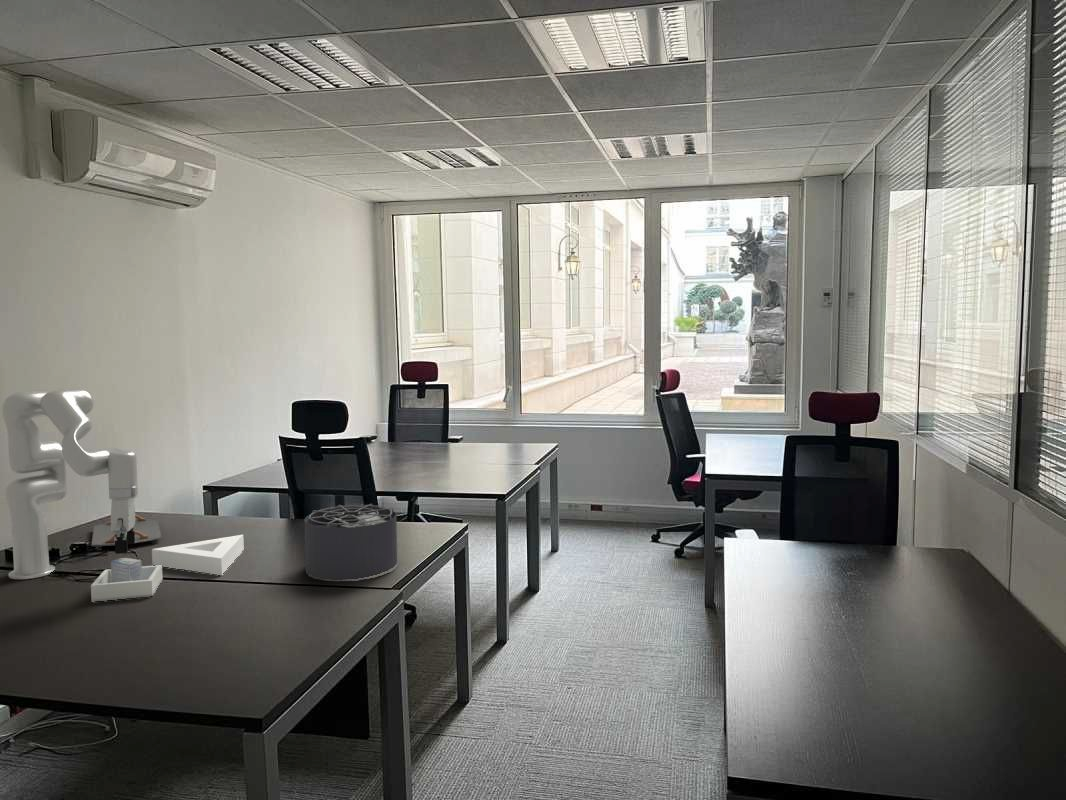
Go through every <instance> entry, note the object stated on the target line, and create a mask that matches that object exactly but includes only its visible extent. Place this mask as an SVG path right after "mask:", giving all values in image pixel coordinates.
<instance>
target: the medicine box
mask: <svg viewBox="0 0 1066 800" xmlns="http://www.w3.org/2000/svg"><path fill="white" fill-rule="evenodd" d="M142 567H143V565H142V560H141V559H135V558H130V557H120V558H117V559H114V560H111V561H110V569H111V573H112V583H114V582H126V581H138V580H143V579H142Z"/></svg>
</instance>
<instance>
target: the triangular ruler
mask: <svg viewBox="0 0 1066 800" xmlns="http://www.w3.org/2000/svg"><path fill="white" fill-rule="evenodd" d="M244 543H245V542H244V534H237V535H232V536H227V537H219V538H215V539H207V540H201V541H195V542H188V543H187V542H186V543H183V544H182V543H181V544H175V545H169V546H163V547H157V548H152V549H151V558H152V559H151V562H152V565H151V566H153V565H162V566H163V567H169V568H168V569H170V568H176V569H175V570H177V569H185V570H192V571H198V572H205V573H210V574H209V575H212V574H217V575H216V576H218V575H222V576H223V575H224V574H225V573H226V572H227V571H228V569H229V568H230V567H231V566H232V565H233V564H234V563H235V561H236V560H237V559H238V558H239V557H240V555H241V554H242V553H243V552H244V551H245V547H244V545H245V544H244ZM243 550H244V551H243ZM242 551H243V552H242ZM238 556H239V557H238ZM237 557H238V558H237ZM236 558H237V559H236ZM235 559H236V560H235ZM234 560H235V561H234ZM232 563H233V564H232ZM231 564H232V565H231ZM230 565H231V566H230ZM229 566H230V567H229ZM163 567H162V568H163ZM228 567H229V568H228ZM227 568H228V569H227ZM226 570H227V571H226ZM225 571H226V572H225ZM198 572H197V573H198ZM224 572H225V573H224ZM205 573H204V574H205ZM223 573H224V574H223Z"/></svg>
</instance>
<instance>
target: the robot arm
mask: <svg viewBox="0 0 1066 800" xmlns="http://www.w3.org/2000/svg"><path fill="white" fill-rule="evenodd" d="M93 408H94V399H93V397H92V396H91V394H90V392H88V391H86V390H85V389H83V388H67V389H61V388H60V389H46V390H45V389H43V390H26V391H20V392H14V393H12V394H9V395H8V396H7V397H5V399H4V400H3V403H2V406H1V413H2V418H3V421H4V423H5V427H6V430H7V445H8V447H7V448H8V460H9V462H8V463H9V466H10V469H11V471H12V472H14V473H15V474H30V473H37V472H42V471H43V474H37V475H31V476H26V477H21V478H16V479H14V480H12V481H11V482H10V483H8V484H7V485H6V488H5V491H4V496H5V499H6V503H7V507H8V510H9V516H10V528H11V540H12V541H11V542H12V554H13V555H12V556H13V557H12V558H13V570H11V571H10V572H8V578H9V579H12V580H29V579H36V578H41V577H44V576H45V577H46V576H48V575H51V574H52V573H51V572H53V571H54V570H55V571H56V567H55V566H54V565H53V564H50V556H49V543H48V542H49V541H48V524H47V517H46V515H45V514H44V512H43V511H42V510H41V509H40V507H39V506H41V505H44V504H48V503H54V502H57V501H60V500H62V499H64V498H65V497H66V495H67V493H68V469H67V465H68V466H69V467H70V468H71V469H72V471H73V472H74V473H76V474H77V475H79V476H81V477H85V478H88V477H94V476H100V475H105V474H108V475H107V477H108V497H109V498H108V499H109V500H111V506H110V507H111V508H110V521H111V532H112V533H114V532H116V534H115V545H114V552H115V553H114V554H116V555H119V554H121V555H122V554H127V553H128V547H129V546H128V545H135V544H136V543H135V531H134V525H135V520H136V518H135V514H136V506H135V505H136V504H135V502H136V501H135V498H137V497H139V496H138V493H139V491H138V465H137V463H138V460H137V454H136V452H135V451H131V450H122V449H120V448H118V447H107V448H100V449H94V450H86V451H85V450H84V449H83V448H82V447H81V446H80V444H79V443H78V441H79V440H81V439H83V438H84V437H85V436H86V435H89V433H90V431H91V430H92V428H93V422H92V420H91V419H90V418H89V416H88V414H89V413H90V412H92V410H93ZM46 417H48V419H49V420H50V421H51V423H52V424H53V425H54V426H55V428H57V430H58V431H59V432H60V433H61V434H62V435H63V438H62V440H61V443H59V442H58V441H55V440H43V441H41V437H40V436H41V435H40V433H41V432H40V428H39V427H38V424H36V421H34V420H33V419H34V418H35V419H36V418H46ZM121 529H123V530H121ZM55 571H54V572H55ZM54 572H53V573H54ZM50 573H51V574H50Z"/></svg>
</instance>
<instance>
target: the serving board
mask: <svg viewBox="0 0 1066 800" xmlns="http://www.w3.org/2000/svg"><path fill="white" fill-rule="evenodd" d="M160 525H161V524H160V523H159V520H158V518H146V517H142V516H140V515H139V514H136V513H135V525H134V531H135V543H134V544H137V543H145V542H150V541H151V544H152V545H156V543H157V544H158V543H159V541H158V540H159V539H161V538H162V532H161V531H162V530H161V526H160ZM121 530H123V529H121ZM115 534H116V532H114V533H112V532H111V520H109V521H106V522H105V523H103V524H102V523H101V524H95V525H94V526H93V529H92V536H91V537H92V538H91V544H90V545H91V547H95V550H96V549H102V548H103V547H109V546H110V547H111V546H114V547H115ZM102 550H103V549H102Z"/></svg>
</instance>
